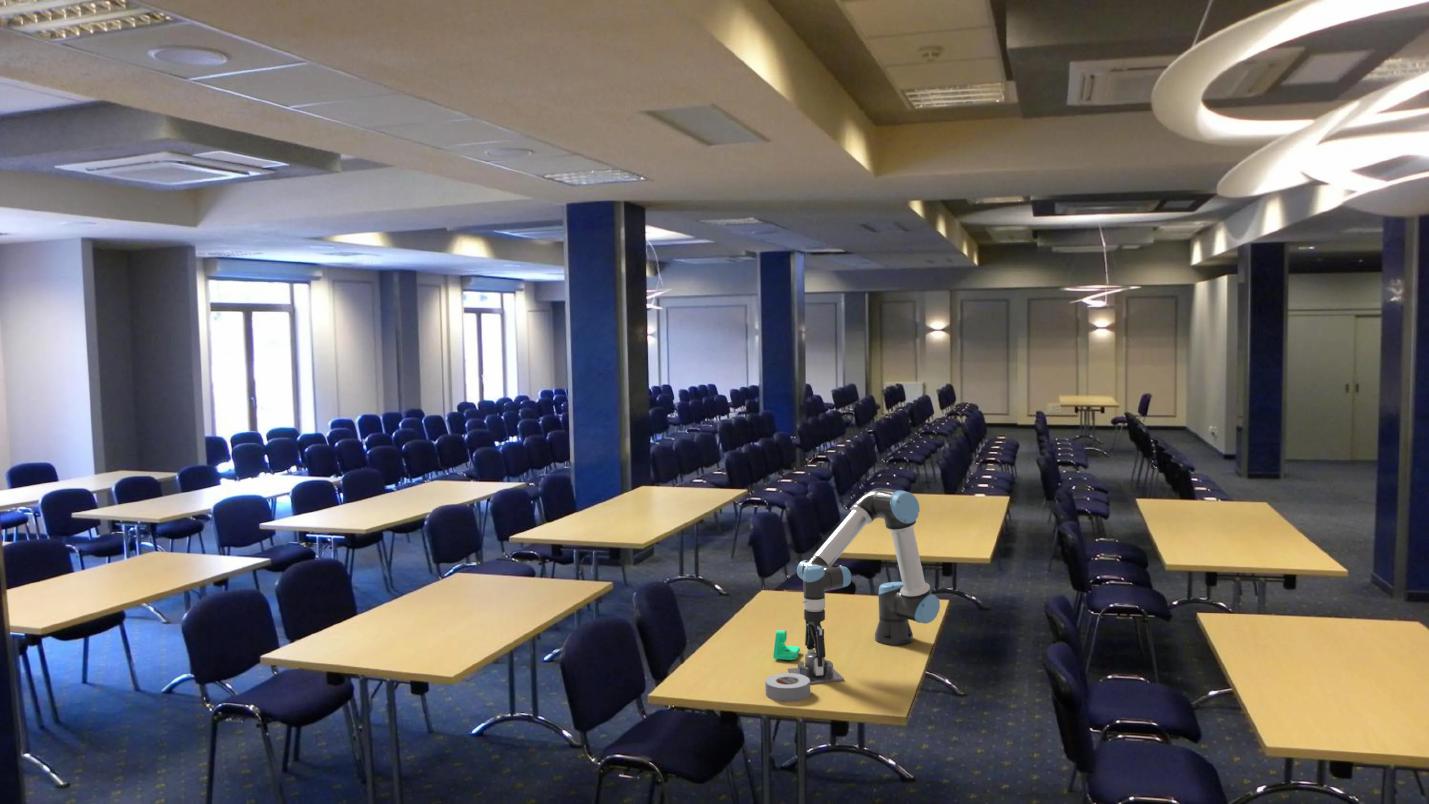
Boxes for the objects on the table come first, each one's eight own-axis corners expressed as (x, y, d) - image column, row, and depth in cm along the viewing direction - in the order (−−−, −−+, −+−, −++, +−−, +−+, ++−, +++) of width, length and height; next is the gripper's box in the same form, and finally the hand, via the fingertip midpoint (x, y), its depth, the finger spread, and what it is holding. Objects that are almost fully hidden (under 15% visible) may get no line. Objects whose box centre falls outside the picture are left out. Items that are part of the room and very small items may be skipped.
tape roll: (766, 703, 336) (766, 688, 336) (764, 687, 351) (764, 673, 351) (812, 702, 336) (812, 687, 336) (808, 686, 351) (807, 672, 351)
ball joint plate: (829, 666, 371) (828, 655, 371) (844, 680, 356) (843, 668, 355) (787, 670, 368) (787, 659, 367) (801, 685, 352) (800, 673, 352)
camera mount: (793, 662, 377) (792, 636, 376) (773, 661, 379) (773, 634, 379) (800, 653, 389) (800, 627, 388) (781, 651, 391) (780, 625, 390)
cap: (820, 667, 366) (820, 651, 366) (827, 674, 358) (827, 658, 358) (802, 668, 365) (802, 652, 364) (809, 676, 357) (809, 659, 356)
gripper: (795, 602, 370) (796, 662, 371) (813, 617, 349) (814, 681, 350) (814, 600, 371) (815, 661, 373) (834, 615, 351) (835, 679, 352)
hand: (815, 670), depth 361 cm, fingers closed on cap, 8 cm apart
